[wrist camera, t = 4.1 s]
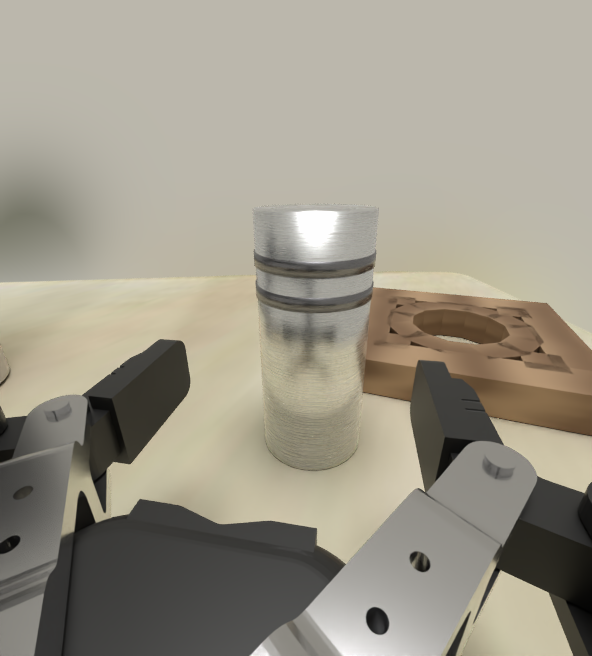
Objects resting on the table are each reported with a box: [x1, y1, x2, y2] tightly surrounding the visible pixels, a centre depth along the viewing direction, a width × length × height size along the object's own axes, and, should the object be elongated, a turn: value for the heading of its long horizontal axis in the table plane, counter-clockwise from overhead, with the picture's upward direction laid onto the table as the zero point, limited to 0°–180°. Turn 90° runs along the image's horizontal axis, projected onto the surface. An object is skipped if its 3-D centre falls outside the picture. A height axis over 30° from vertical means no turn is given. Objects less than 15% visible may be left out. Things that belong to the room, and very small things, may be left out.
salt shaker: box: [253, 204, 379, 470], centre depth 16 cm, size 5×5×12 cm
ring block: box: [363, 287, 592, 436], centre depth 27 cm, size 16×16×2 cm
